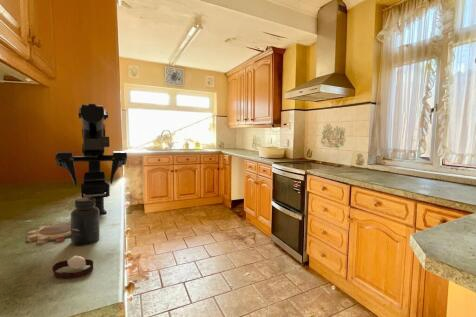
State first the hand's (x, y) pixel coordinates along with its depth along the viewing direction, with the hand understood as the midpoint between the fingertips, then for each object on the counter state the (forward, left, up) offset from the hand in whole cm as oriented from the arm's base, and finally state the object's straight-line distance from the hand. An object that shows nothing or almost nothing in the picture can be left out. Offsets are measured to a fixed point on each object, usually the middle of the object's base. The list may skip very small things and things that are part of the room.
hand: (94, 184), depth 73 cm
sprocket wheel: (-5, -9, -15) cm, 18 cm away
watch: (+23, -8, -15) cm, 29 cm away
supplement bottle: (+6, -3, -15) cm, 16 cm away
